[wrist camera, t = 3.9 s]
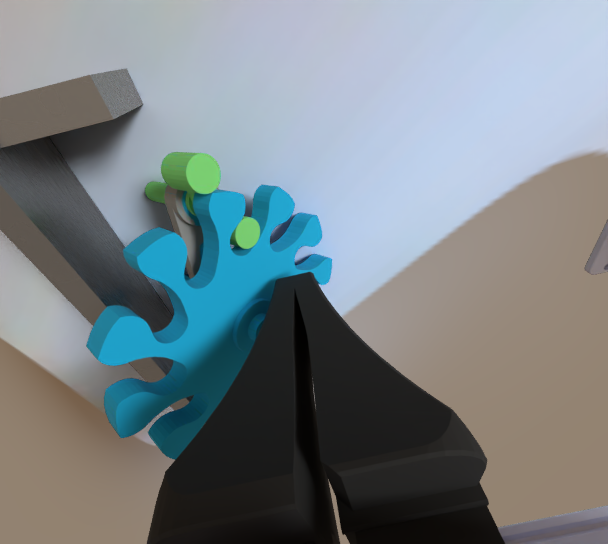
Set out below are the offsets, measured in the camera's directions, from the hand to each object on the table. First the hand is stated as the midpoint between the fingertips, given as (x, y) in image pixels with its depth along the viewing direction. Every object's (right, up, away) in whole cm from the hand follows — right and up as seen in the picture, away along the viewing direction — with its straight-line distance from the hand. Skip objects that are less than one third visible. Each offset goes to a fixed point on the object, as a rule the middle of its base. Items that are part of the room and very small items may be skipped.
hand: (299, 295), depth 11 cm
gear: (-3, +2, +3) cm, 4 cm away
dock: (-6, +1, +3) cm, 6 cm away
